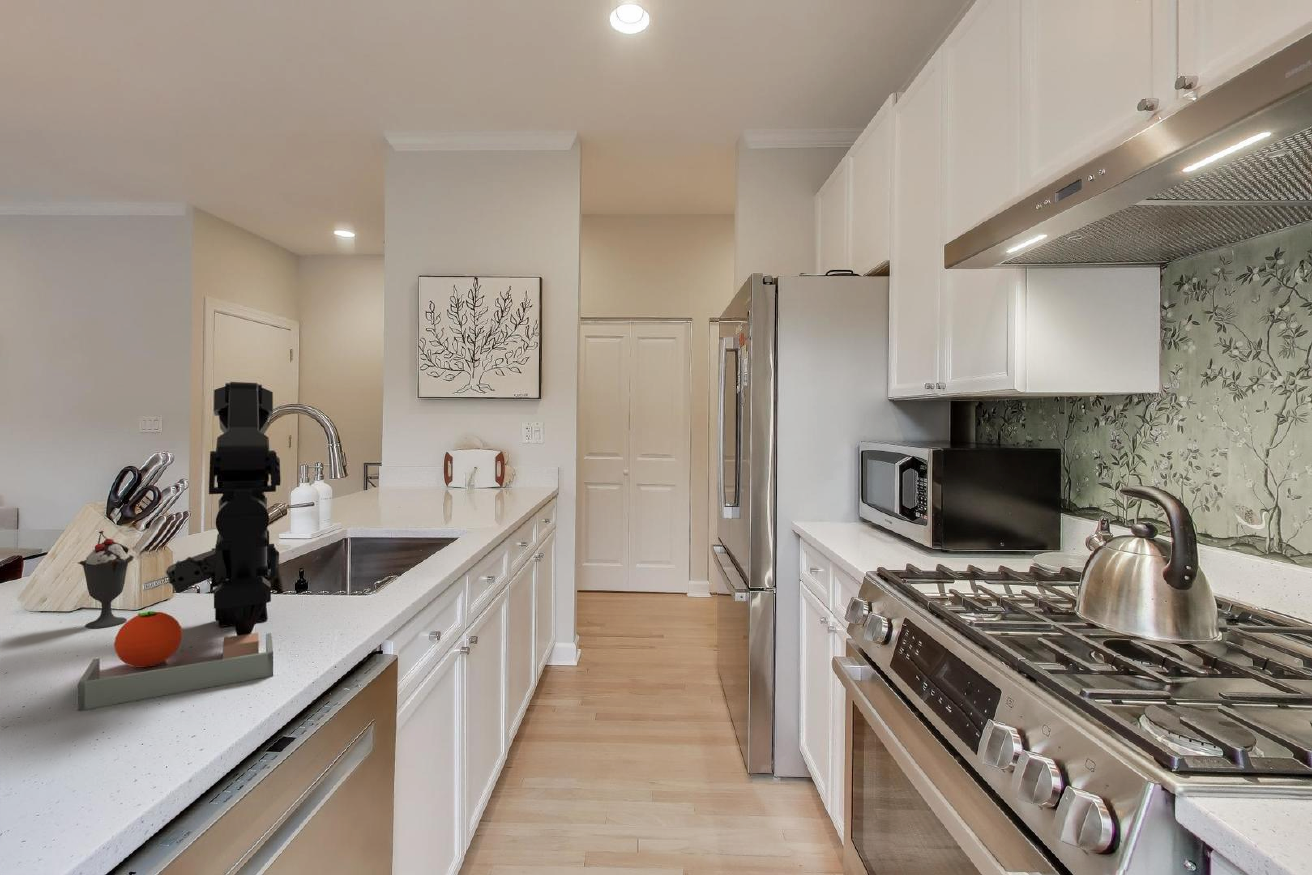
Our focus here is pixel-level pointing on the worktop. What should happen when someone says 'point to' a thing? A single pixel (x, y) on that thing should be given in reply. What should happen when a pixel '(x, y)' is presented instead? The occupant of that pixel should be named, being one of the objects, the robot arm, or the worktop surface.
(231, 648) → the tile
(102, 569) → the sundae
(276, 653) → the worktop surface
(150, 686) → the tray
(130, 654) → the clementine
